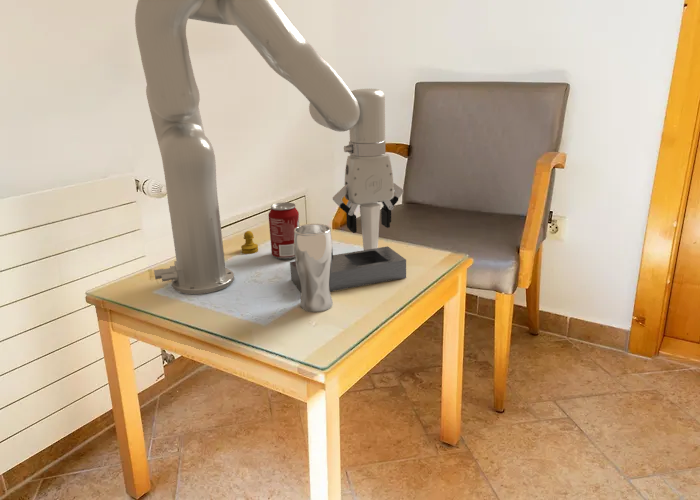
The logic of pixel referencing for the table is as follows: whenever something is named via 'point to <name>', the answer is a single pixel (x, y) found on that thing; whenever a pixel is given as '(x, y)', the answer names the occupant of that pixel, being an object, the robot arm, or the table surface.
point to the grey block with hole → (361, 268)
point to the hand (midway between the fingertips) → (369, 228)
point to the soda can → (283, 229)
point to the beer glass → (314, 265)
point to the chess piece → (249, 244)
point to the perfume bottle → (370, 224)
